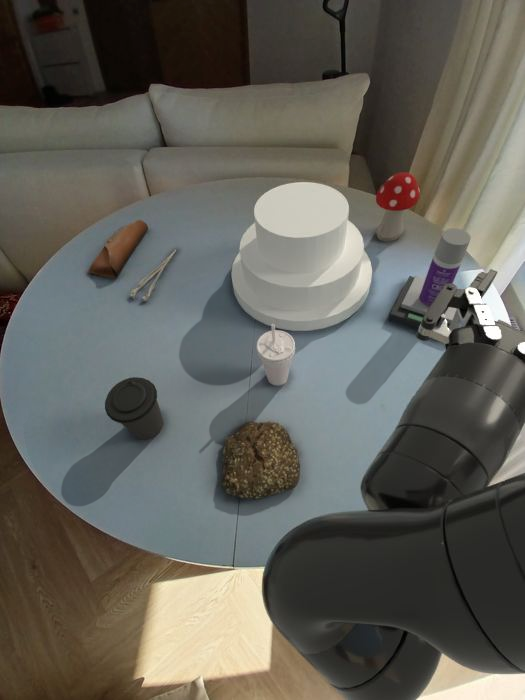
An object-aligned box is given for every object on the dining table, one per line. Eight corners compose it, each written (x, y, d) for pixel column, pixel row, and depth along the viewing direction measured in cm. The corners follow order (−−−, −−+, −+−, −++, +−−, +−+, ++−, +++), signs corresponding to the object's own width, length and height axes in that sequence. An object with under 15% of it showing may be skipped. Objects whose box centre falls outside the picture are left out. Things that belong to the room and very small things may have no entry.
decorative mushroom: (386, 252, 91) (400, 192, 79) (360, 233, 95) (370, 174, 83) (417, 235, 93) (435, 175, 81) (391, 218, 98) (404, 158, 86)
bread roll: (303, 496, 59) (304, 485, 55) (221, 504, 59) (216, 494, 55) (293, 419, 67) (293, 404, 63) (220, 426, 67) (215, 412, 63)
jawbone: (148, 302, 86) (145, 295, 84) (130, 298, 87) (127, 291, 85) (185, 256, 96) (184, 249, 95) (169, 253, 97) (167, 246, 96)
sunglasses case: (119, 226, 102) (123, 208, 97) (145, 240, 104) (150, 222, 99) (86, 273, 92) (88, 255, 87) (114, 287, 94) (119, 270, 89)
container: (423, 310, 75) (447, 246, 63) (415, 293, 78) (437, 229, 66) (447, 307, 75) (476, 243, 63) (438, 290, 78) (464, 226, 66)
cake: (324, 222, 99) (328, 151, 85) (399, 297, 82) (420, 224, 68) (213, 262, 92) (198, 192, 78) (269, 352, 75) (263, 284, 61)
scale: (465, 300, 80) (471, 290, 78) (450, 342, 74) (455, 332, 72) (407, 282, 84) (410, 272, 82) (388, 320, 78) (391, 310, 76)
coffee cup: (157, 396, 71) (139, 364, 63) (180, 427, 67) (164, 398, 59) (116, 422, 68) (92, 393, 60) (138, 457, 64) (115, 430, 56)
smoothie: (285, 357, 74) (283, 306, 63) (301, 383, 71) (303, 333, 60) (254, 371, 73) (247, 321, 62) (269, 397, 69) (264, 350, 58)
